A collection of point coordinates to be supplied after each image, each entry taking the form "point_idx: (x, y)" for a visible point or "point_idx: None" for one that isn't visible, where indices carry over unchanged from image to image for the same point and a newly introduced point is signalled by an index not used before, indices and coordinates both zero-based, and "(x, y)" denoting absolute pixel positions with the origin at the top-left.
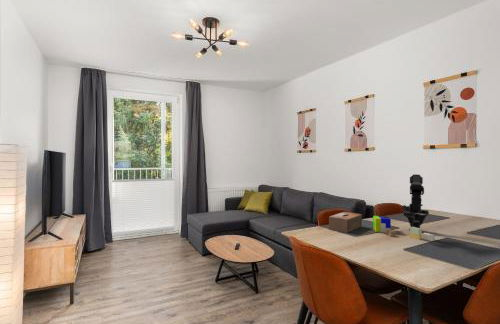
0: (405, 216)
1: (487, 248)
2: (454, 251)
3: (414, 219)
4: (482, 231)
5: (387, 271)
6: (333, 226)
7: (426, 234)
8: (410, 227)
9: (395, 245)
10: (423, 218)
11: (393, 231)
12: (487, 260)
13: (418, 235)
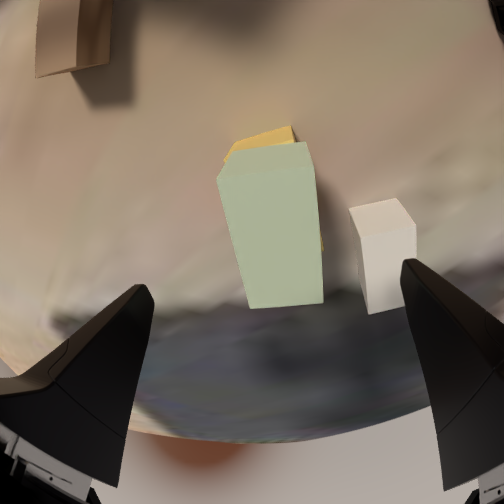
0: None
1: None
2: (265, 401)
3: (121, 441)
4: None
5: (10, 365)
6: None
7: (364, 270)
8: (218, 184)
9: (31, 272)
10: (436, 425)
11: (61, 69)
12: (281, 438)
13: None
